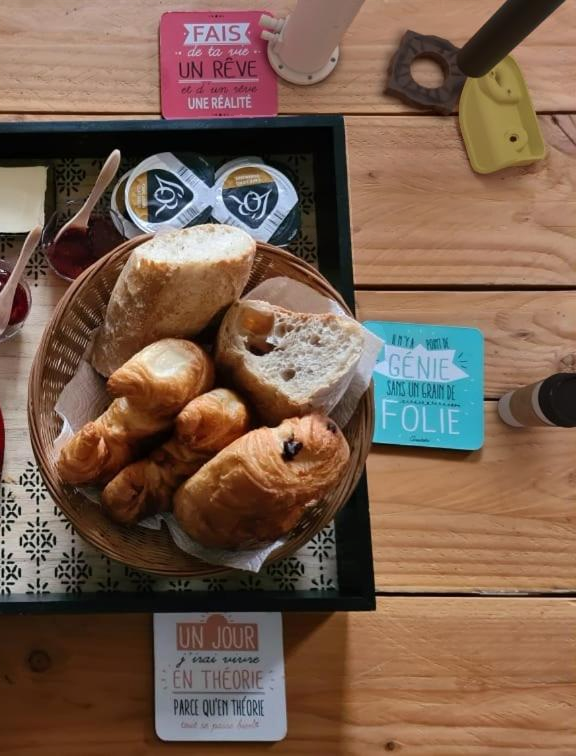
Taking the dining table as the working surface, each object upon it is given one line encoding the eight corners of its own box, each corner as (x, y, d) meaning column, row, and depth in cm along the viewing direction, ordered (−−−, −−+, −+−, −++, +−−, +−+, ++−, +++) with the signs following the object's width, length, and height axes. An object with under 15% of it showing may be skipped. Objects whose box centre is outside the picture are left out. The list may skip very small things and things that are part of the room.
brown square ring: (378, 95, 130) (383, 89, 128) (400, 31, 132) (405, 24, 130) (449, 121, 130) (455, 115, 128) (470, 56, 132) (476, 50, 130)
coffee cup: (550, 407, 122) (617, 396, 108) (519, 444, 121) (583, 438, 107) (510, 373, 123) (572, 358, 108) (479, 410, 122) (537, 399, 107)
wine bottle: (449, 51, 116) (587, -96, 86) (481, 40, 117) (629, -111, 87) (465, 83, 116) (609, -55, 86) (497, 71, 116) (651, -70, 86)
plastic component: (549, 158, 126) (516, 160, 122) (507, 175, 133) (475, 178, 128) (517, 50, 128) (483, 48, 123) (477, 73, 134) (444, 72, 129)
